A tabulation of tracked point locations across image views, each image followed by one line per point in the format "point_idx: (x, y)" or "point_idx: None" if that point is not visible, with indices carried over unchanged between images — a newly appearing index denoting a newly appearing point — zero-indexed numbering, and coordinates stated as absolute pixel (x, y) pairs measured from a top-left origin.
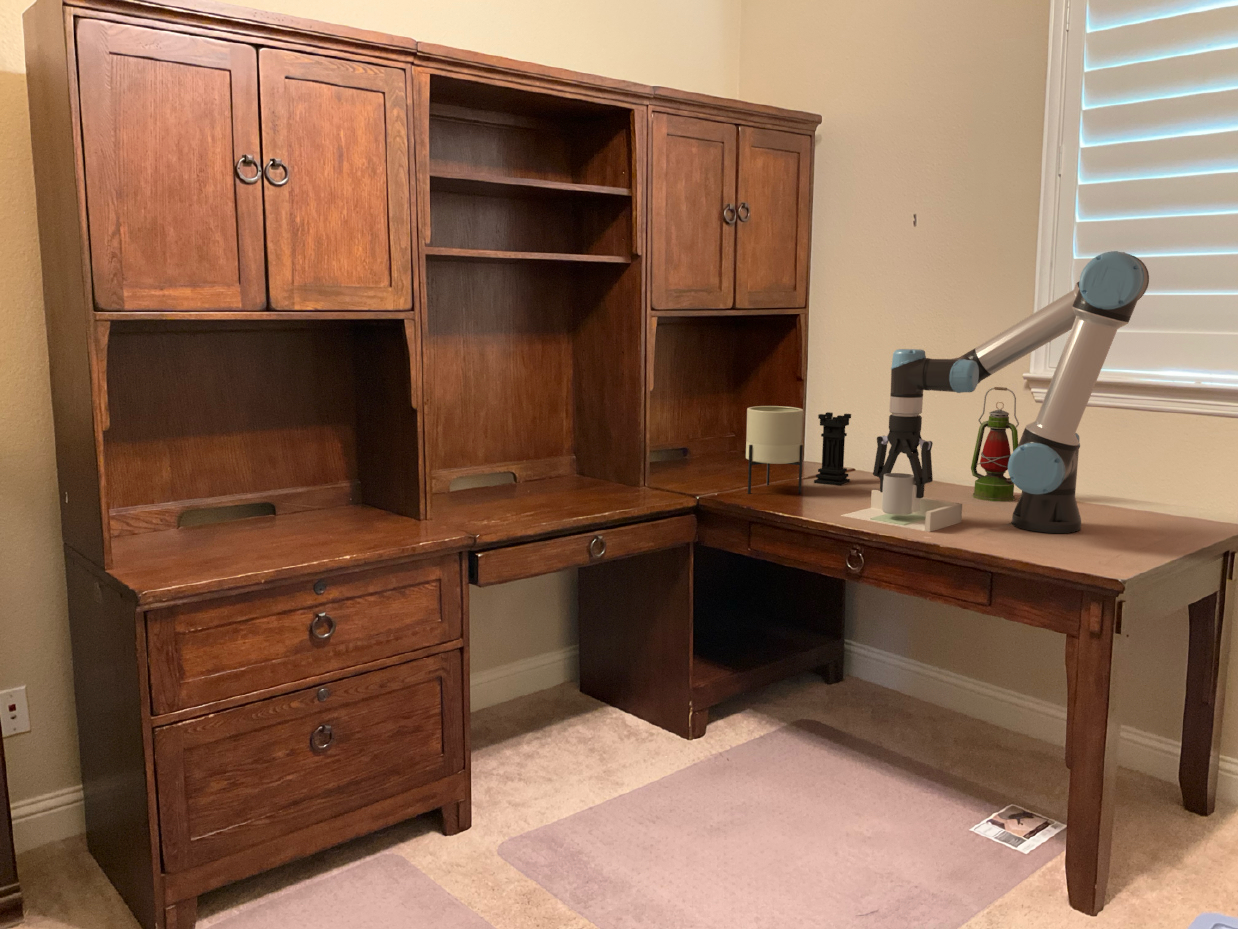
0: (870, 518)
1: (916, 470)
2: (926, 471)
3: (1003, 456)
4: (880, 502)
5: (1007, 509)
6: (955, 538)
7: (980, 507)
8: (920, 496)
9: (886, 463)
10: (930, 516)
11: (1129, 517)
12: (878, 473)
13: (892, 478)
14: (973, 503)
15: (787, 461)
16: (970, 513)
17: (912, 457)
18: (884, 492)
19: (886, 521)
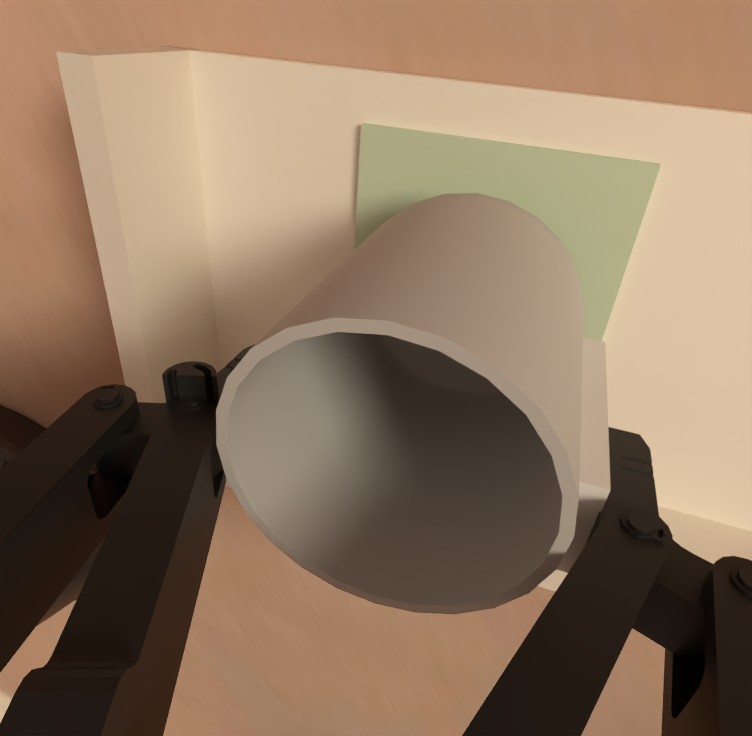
0: (658, 165)
1: (131, 492)
2: (18, 459)
3: None
4: (686, 545)
5: (243, 675)
6: (31, 46)
7: (318, 684)
8: (246, 350)
9: (572, 683)
10: (79, 50)
11: (21, 656)
12: (703, 594)
13: (385, 315)
14: (366, 730)
15: None
16: (293, 595)
17: (63, 661)
18: (537, 287)
19: (504, 143)
